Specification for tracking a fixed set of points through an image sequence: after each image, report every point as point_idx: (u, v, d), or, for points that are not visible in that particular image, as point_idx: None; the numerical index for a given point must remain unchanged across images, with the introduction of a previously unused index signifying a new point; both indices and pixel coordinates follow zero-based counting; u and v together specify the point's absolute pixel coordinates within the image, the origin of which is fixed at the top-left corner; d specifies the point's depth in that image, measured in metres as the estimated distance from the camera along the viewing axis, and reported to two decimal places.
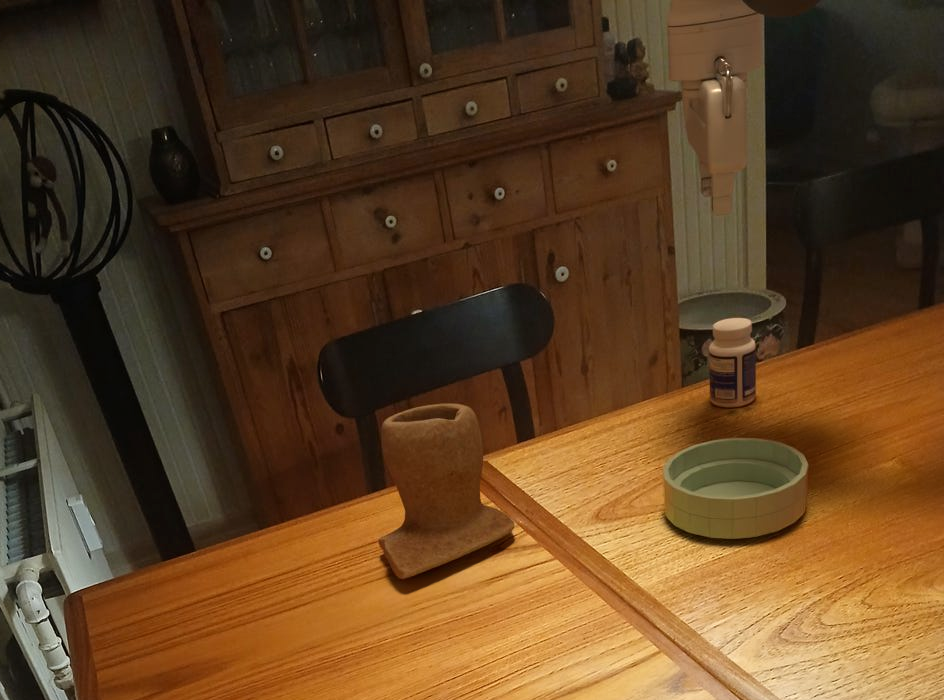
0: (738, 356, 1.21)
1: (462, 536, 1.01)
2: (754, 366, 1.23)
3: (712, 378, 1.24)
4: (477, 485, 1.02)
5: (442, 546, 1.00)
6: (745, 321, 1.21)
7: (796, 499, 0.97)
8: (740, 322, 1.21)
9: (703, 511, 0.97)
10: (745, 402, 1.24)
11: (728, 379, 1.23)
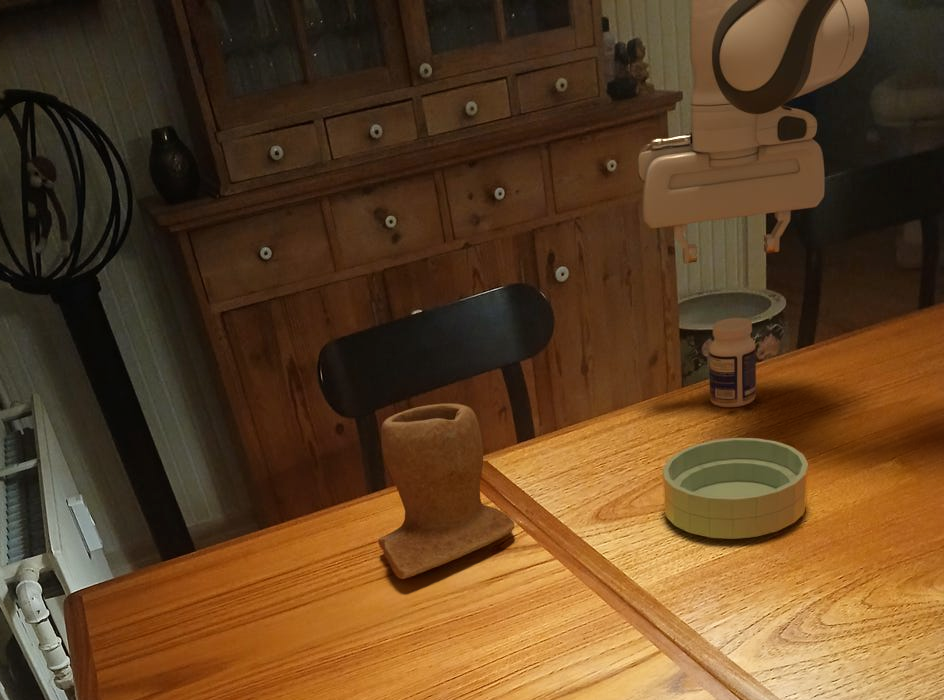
0: (738, 356, 1.21)
1: (462, 536, 1.01)
2: (754, 366, 1.23)
3: (712, 378, 1.24)
4: (477, 485, 1.02)
5: (442, 546, 1.00)
6: (745, 321, 1.21)
7: (796, 499, 0.97)
8: (740, 322, 1.21)
9: (703, 511, 0.97)
10: (745, 402, 1.24)
11: (728, 379, 1.23)
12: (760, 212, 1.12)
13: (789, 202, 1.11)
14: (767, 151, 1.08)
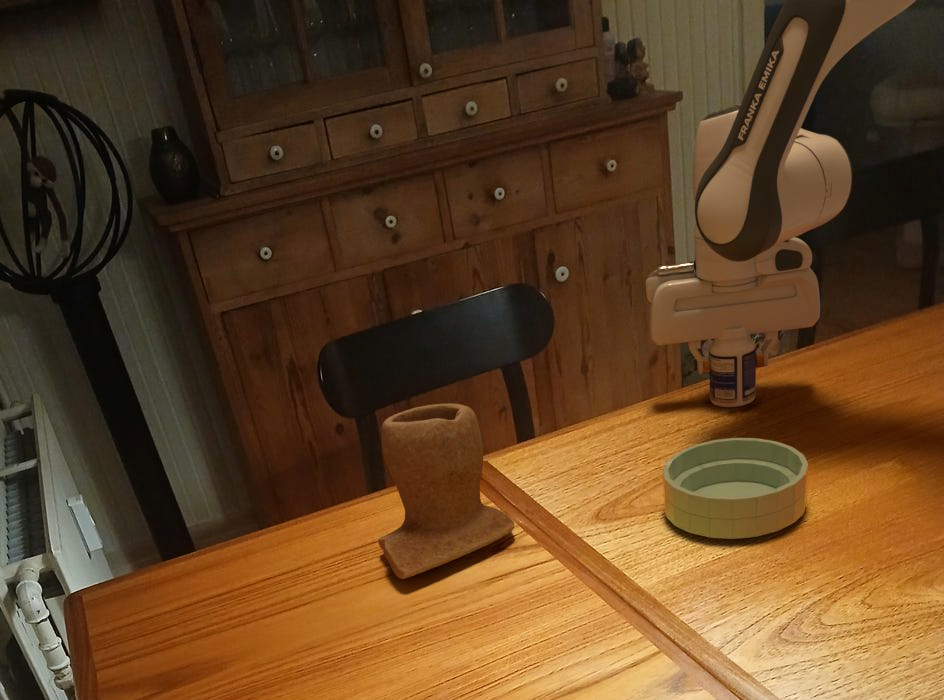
0: (738, 356, 1.21)
1: (462, 536, 1.01)
2: (754, 366, 1.23)
3: (712, 378, 1.24)
4: (477, 485, 1.02)
5: (442, 546, 1.00)
6: None
7: (796, 499, 0.97)
8: None
9: (703, 511, 0.97)
10: (745, 401, 1.24)
11: (728, 379, 1.23)
12: (760, 331, 1.20)
13: (787, 323, 1.19)
14: (766, 279, 1.16)
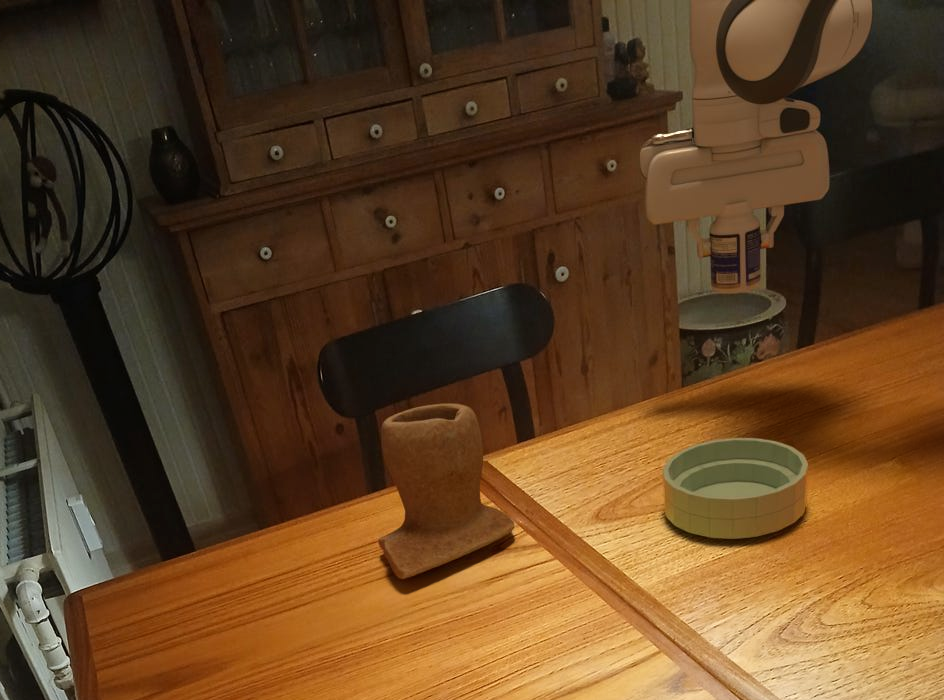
0: (741, 234, 1.12)
1: (462, 536, 1.01)
2: (758, 247, 1.14)
3: (713, 261, 1.15)
4: (477, 485, 1.02)
5: (442, 546, 1.00)
6: None
7: (796, 499, 0.97)
8: None
9: (703, 511, 0.97)
10: (749, 286, 1.15)
11: (730, 260, 1.14)
12: (764, 206, 1.11)
13: (794, 195, 1.10)
14: (770, 144, 1.06)
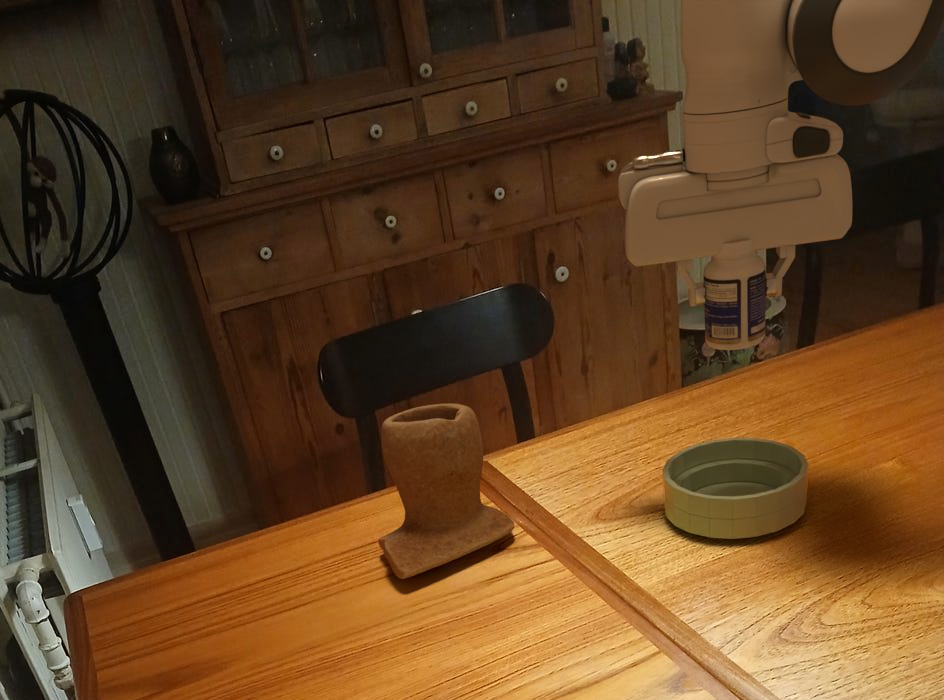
0: (742, 279, 0.91)
1: (462, 536, 1.01)
2: (763, 294, 0.93)
3: (708, 311, 0.94)
4: (477, 485, 1.02)
5: (442, 546, 1.00)
6: None
7: (796, 499, 0.97)
8: None
9: (703, 511, 0.97)
10: (752, 342, 0.94)
11: (729, 311, 0.93)
12: (771, 245, 0.90)
13: (808, 233, 0.89)
14: (780, 170, 0.85)
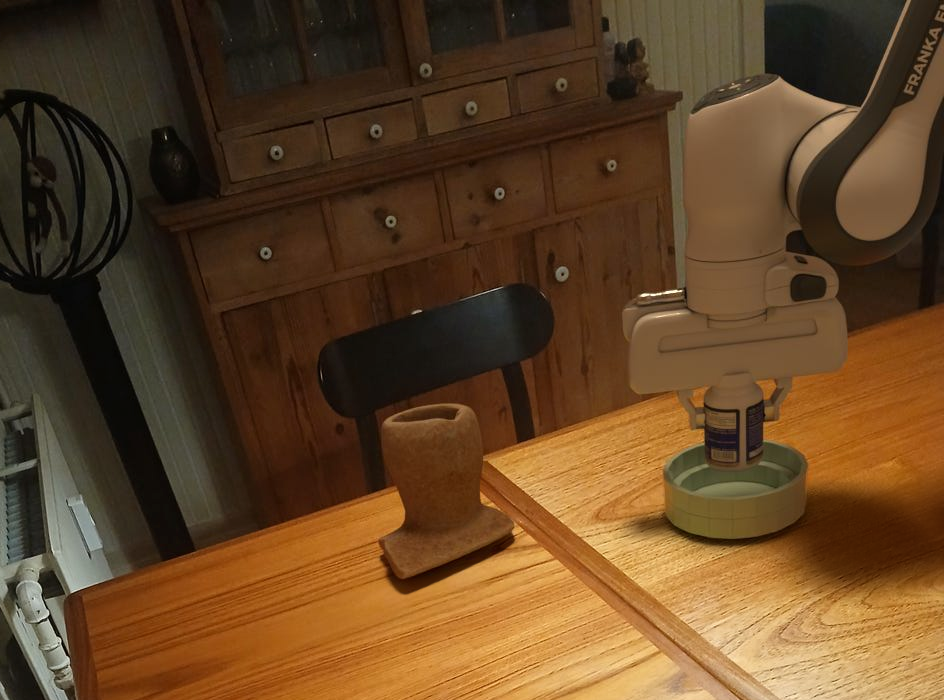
0: (741, 409, 0.94)
1: (462, 536, 1.01)
2: (761, 421, 0.96)
3: (708, 435, 0.97)
4: (477, 485, 1.02)
5: (442, 546, 1.00)
6: None
7: (796, 499, 0.97)
8: None
9: (703, 511, 0.97)
10: (750, 465, 0.97)
11: (728, 437, 0.96)
12: (769, 378, 0.93)
13: (804, 367, 0.92)
14: (778, 312, 0.89)
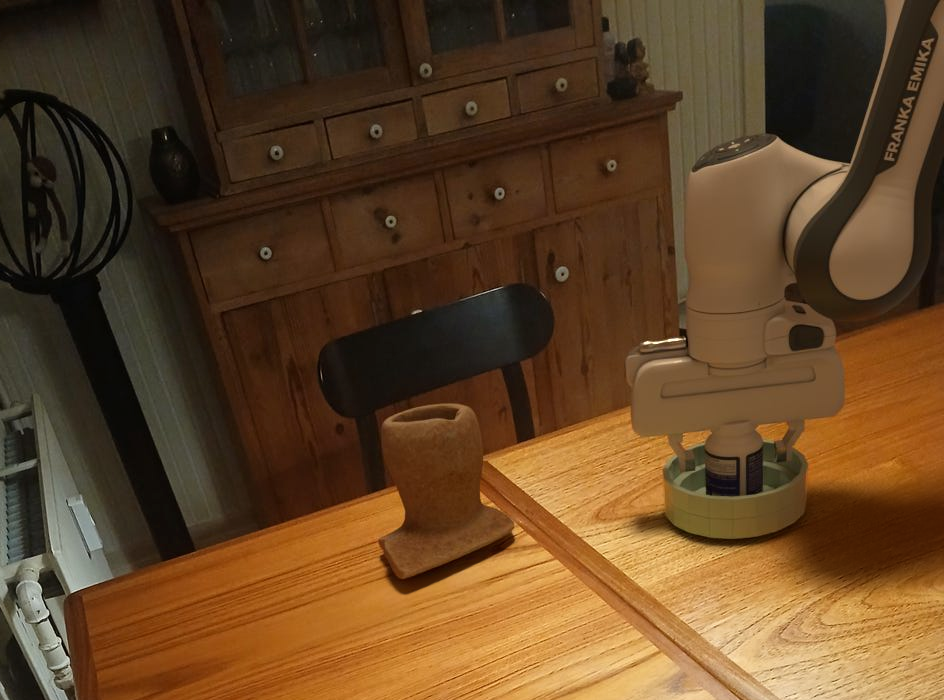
0: (741, 457, 0.97)
1: (462, 536, 1.01)
2: (761, 467, 0.99)
3: (709, 480, 1.00)
4: (477, 485, 1.02)
5: (442, 546, 1.00)
6: None
7: (796, 499, 0.97)
8: None
9: (703, 511, 0.97)
10: None
11: (728, 483, 0.98)
12: (769, 422, 0.96)
13: (803, 412, 0.95)
14: (777, 360, 0.91)
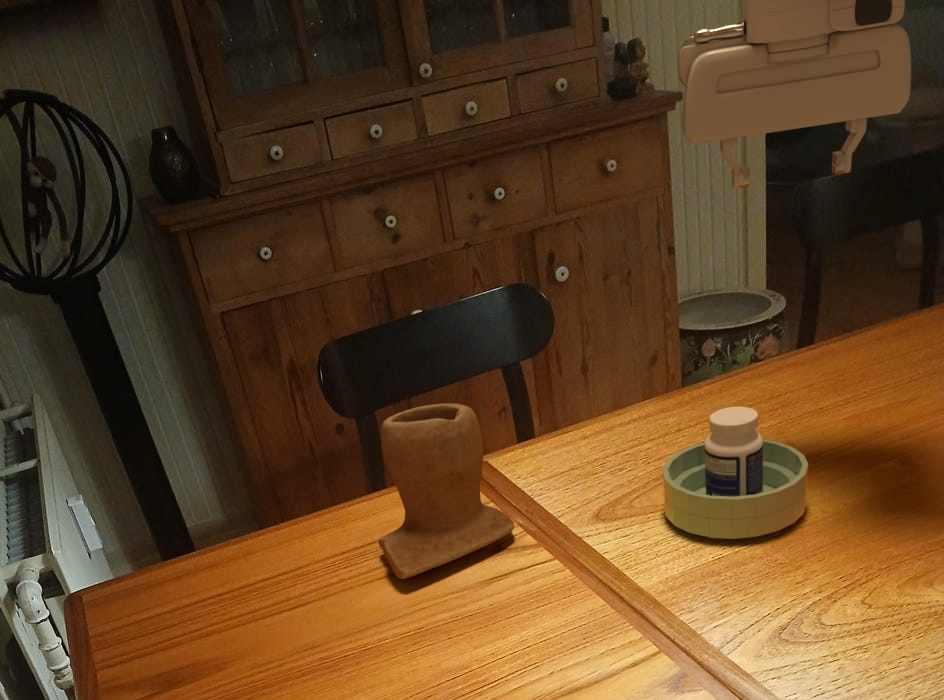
0: (741, 457, 0.97)
1: (462, 536, 1.01)
2: (761, 467, 0.99)
3: (709, 480, 1.00)
4: (477, 485, 1.02)
5: (442, 546, 1.00)
6: (750, 412, 0.97)
7: (796, 499, 0.97)
8: (743, 414, 0.97)
9: (703, 511, 0.97)
10: None
11: (728, 483, 0.98)
12: (829, 121, 0.91)
13: (866, 107, 0.90)
14: (841, 40, 0.87)
